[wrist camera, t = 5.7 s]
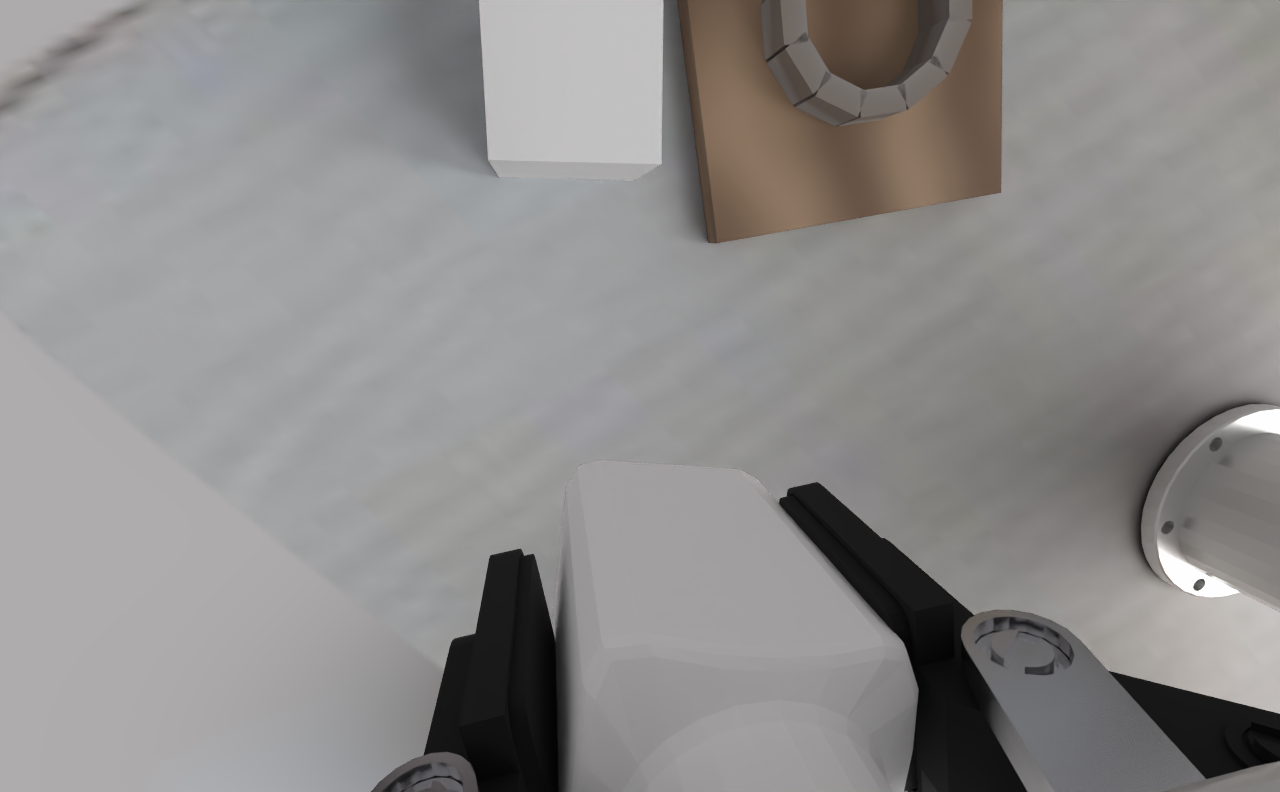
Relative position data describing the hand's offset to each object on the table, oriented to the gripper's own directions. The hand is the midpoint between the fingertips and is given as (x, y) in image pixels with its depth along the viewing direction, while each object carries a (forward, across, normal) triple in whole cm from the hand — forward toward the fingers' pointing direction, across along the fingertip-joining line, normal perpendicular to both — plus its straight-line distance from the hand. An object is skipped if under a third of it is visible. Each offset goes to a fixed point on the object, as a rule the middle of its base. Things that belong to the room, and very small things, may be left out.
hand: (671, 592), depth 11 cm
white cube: (+19, -1, -12) cm, 22 cm away
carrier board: (+18, -13, -13) cm, 26 cm away
